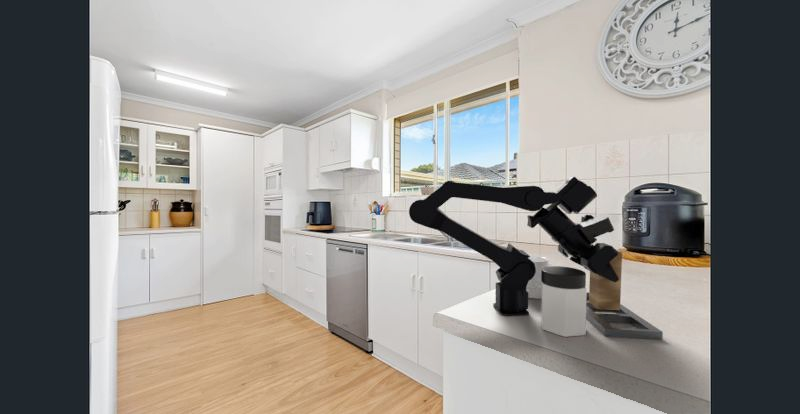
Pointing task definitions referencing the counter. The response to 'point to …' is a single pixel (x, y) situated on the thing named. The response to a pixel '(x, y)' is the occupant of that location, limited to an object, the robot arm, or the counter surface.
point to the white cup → (536, 277)
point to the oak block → (606, 287)
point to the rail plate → (622, 316)
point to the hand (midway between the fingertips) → (611, 277)
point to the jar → (563, 301)
